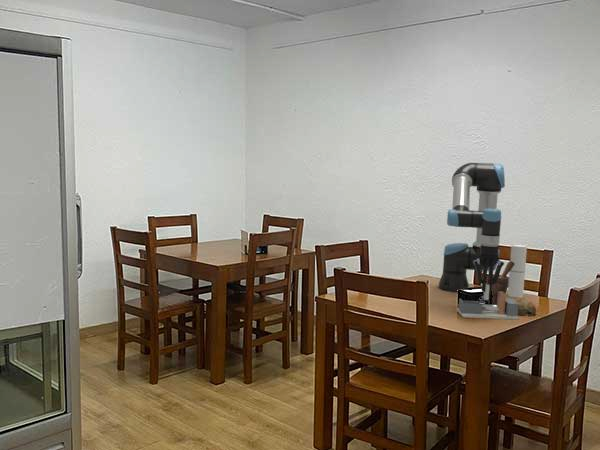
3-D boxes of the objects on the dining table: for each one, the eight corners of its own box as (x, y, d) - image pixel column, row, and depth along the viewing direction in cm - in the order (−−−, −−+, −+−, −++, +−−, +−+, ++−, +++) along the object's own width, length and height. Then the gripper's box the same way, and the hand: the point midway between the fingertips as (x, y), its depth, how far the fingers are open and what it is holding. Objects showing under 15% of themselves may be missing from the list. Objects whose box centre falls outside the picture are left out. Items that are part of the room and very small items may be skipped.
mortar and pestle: (497, 299, 293) (500, 258, 291) (514, 303, 287) (517, 261, 284) (483, 302, 286) (486, 260, 284) (500, 306, 279) (503, 263, 277)
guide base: (456, 309, 271) (457, 295, 270) (509, 312, 270) (510, 297, 270) (463, 317, 259) (464, 302, 258) (518, 319, 258) (519, 304, 258)
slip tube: (477, 310, 267) (478, 290, 266) (510, 311, 267) (512, 291, 265) (480, 313, 263) (481, 292, 262) (513, 314, 262) (515, 294, 261)
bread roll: (516, 323, 266) (522, 309, 262) (504, 308, 274) (510, 294, 270) (536, 322, 269) (542, 308, 264) (524, 307, 277) (530, 293, 273)
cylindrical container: (507, 296, 300) (511, 246, 298) (507, 293, 307) (511, 244, 304) (523, 298, 298) (527, 247, 295) (522, 295, 305) (526, 245, 302)
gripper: (476, 245, 258) (472, 300, 261) (507, 247, 257) (503, 301, 260) (472, 243, 265) (468, 296, 268) (502, 244, 265) (498, 297, 268)
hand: (485, 299), depth 264 cm, fingers closed
